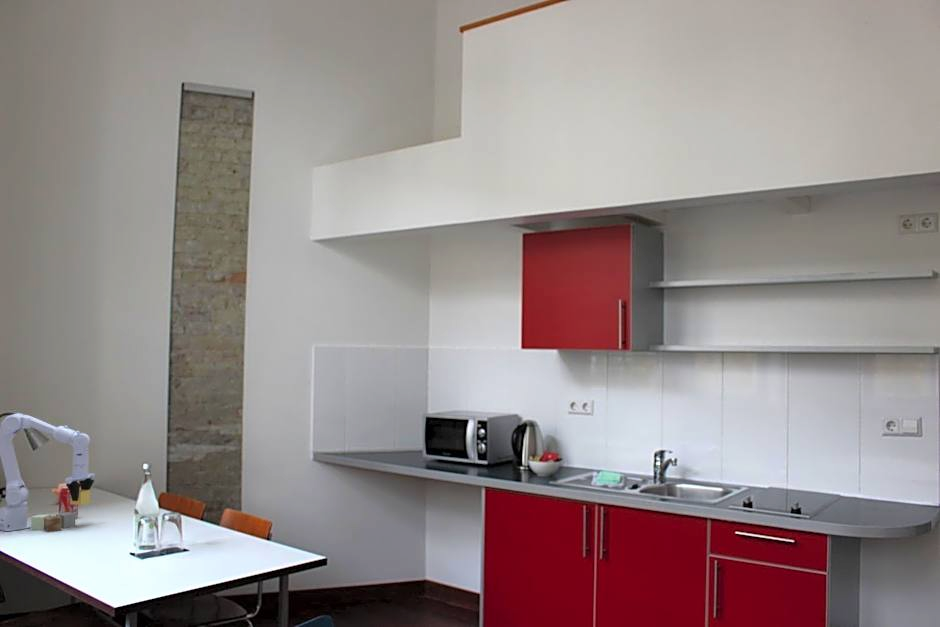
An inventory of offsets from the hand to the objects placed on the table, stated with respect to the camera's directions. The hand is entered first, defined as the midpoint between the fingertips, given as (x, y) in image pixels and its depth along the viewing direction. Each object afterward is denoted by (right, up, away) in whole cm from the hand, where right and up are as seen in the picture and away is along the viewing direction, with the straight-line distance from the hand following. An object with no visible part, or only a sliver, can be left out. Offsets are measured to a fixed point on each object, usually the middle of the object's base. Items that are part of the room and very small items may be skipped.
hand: (79, 499), depth 345 cm
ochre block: (0, -2, 0) cm, 2 cm away
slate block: (-5, -10, -1) cm, 12 cm away
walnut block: (-7, -10, -8) cm, 15 cm away
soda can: (-11, -11, +14) cm, 21 cm away
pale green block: (-13, -10, -6) cm, 17 cm away
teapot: (-27, -12, +48) cm, 56 cm away
